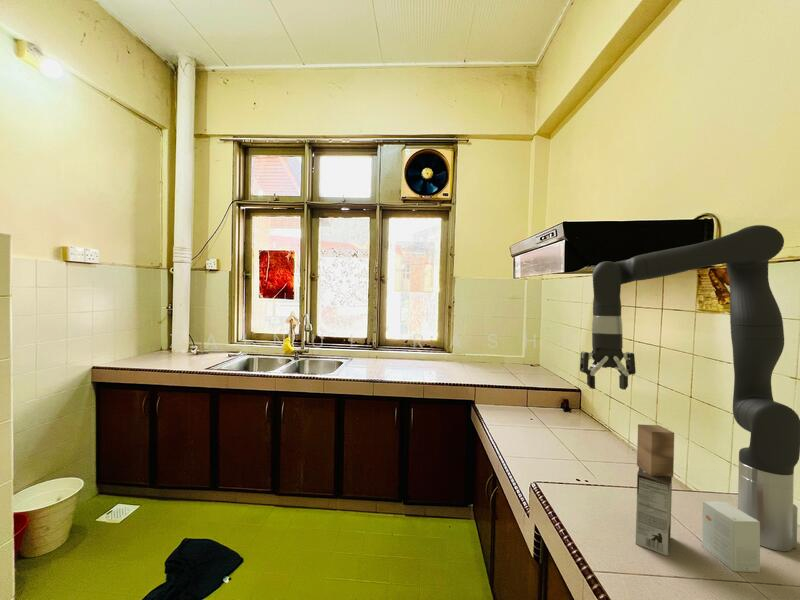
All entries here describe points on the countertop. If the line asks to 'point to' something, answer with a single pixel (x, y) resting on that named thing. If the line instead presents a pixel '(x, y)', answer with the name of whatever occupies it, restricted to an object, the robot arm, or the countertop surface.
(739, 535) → the small box
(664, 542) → the coffee box
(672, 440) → the walnut block
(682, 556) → the countertop surface
